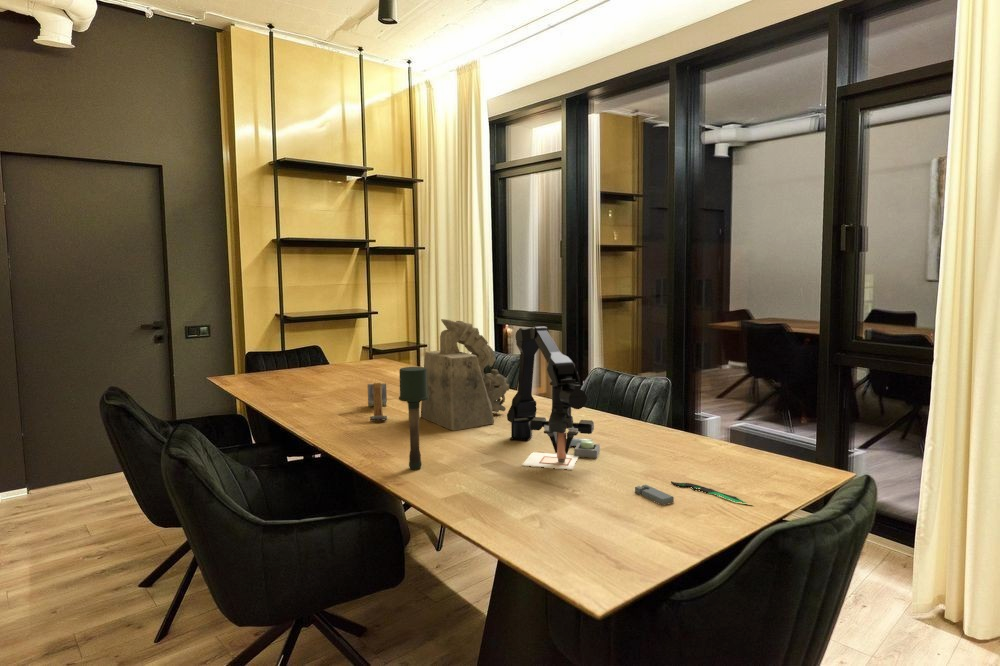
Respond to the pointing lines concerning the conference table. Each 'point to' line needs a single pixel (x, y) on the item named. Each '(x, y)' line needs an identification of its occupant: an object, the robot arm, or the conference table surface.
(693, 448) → the conference table surface
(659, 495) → the bracket
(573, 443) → the grey cylinder
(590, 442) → the button
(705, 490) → the knife
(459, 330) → the sculpture
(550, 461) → the sheet
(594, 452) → the button housing
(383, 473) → the conference table surface
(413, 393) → the stick grenade
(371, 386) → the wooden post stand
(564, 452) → the salmon rounded cylinder
